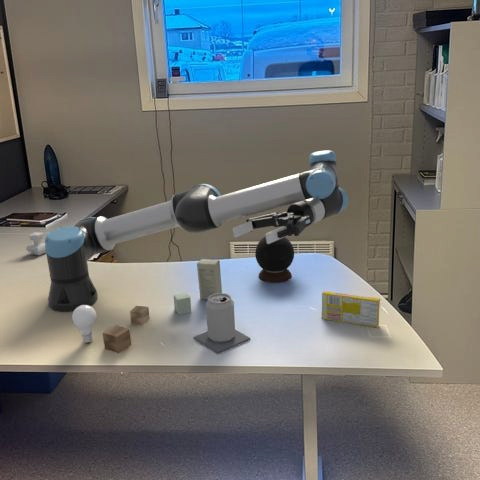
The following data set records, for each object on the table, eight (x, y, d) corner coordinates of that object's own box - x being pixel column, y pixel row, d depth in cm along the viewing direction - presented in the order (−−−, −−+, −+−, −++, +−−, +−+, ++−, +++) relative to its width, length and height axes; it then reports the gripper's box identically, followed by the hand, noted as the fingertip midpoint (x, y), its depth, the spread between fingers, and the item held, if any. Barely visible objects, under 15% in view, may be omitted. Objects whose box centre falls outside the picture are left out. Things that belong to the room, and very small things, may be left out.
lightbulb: (78, 337, 157) (73, 301, 153) (101, 335, 157) (96, 300, 154) (74, 348, 151) (68, 312, 147) (98, 347, 151) (92, 310, 148)
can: (232, 345, 149) (230, 304, 145) (204, 343, 150) (202, 302, 146) (237, 331, 156) (236, 292, 152) (211, 329, 157) (209, 290, 153)
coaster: (193, 338, 154) (193, 336, 154) (225, 325, 160) (225, 323, 160) (217, 354, 146) (217, 352, 146) (250, 339, 152) (250, 337, 152)
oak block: (131, 323, 164) (129, 311, 162) (137, 317, 167) (136, 305, 166) (143, 325, 163) (142, 312, 161) (149, 319, 166) (148, 306, 165)
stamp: (41, 249, 229) (38, 229, 226) (53, 250, 226) (50, 231, 223) (24, 256, 221) (21, 236, 218) (37, 258, 218) (33, 238, 215)
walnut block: (104, 349, 151) (102, 332, 149) (117, 340, 155) (115, 324, 153) (118, 353, 148) (116, 336, 146) (131, 345, 152) (129, 328, 150)
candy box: (379, 325, 158) (380, 298, 155) (377, 328, 156) (379, 301, 153) (323, 316, 164) (323, 290, 161) (321, 319, 162) (321, 293, 159)
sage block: (174, 309, 171) (173, 294, 170) (187, 306, 173) (186, 292, 171) (178, 315, 168) (177, 299, 166) (191, 312, 169) (190, 297, 168)
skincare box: (222, 295, 180) (220, 259, 176) (217, 300, 176) (215, 264, 172) (204, 293, 182) (201, 258, 178) (198, 298, 178) (196, 262, 174)
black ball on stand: (302, 276, 191) (302, 235, 186) (272, 287, 184) (272, 244, 179) (277, 266, 201) (276, 226, 197) (248, 275, 194) (246, 234, 189)
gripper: (339, 230, 153) (284, 255, 141) (277, 221, 172) (223, 242, 160) (336, 203, 151) (279, 227, 139) (273, 197, 170) (219, 217, 158)
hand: (249, 235), depth 149 cm, fingers open, 13 cm apart
